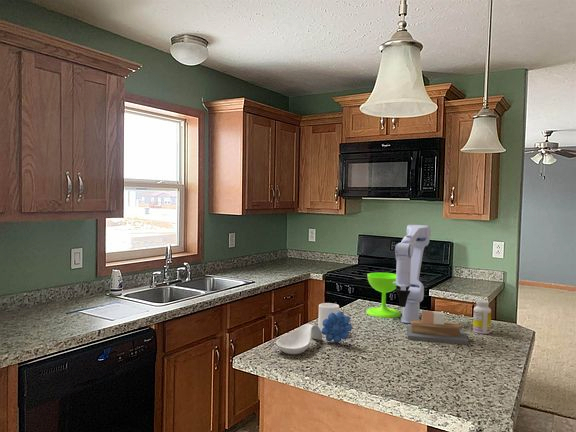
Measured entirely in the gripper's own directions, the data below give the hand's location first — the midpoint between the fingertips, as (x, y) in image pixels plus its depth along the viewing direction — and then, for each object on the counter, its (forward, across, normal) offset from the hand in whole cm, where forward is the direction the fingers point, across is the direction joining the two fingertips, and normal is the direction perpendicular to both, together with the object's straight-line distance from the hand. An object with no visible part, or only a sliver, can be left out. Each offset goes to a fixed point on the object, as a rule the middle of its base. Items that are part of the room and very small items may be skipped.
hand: (402, 304), depth 188 cm
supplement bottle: (+10, -6, +32) cm, 34 cm away
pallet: (+9, +6, +13) cm, 16 cm away
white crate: (+5, +6, +14) cm, 16 cm away
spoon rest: (+12, +32, -36) cm, 50 cm away
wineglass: (+10, -26, -8) cm, 29 cm away
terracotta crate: (+5, +6, +10) cm, 12 cm away
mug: (+11, +8, -29) cm, 32 cm away
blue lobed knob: (+11, +24, -24) cm, 35 cm away
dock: (+10, +6, +13) cm, 18 cm away
